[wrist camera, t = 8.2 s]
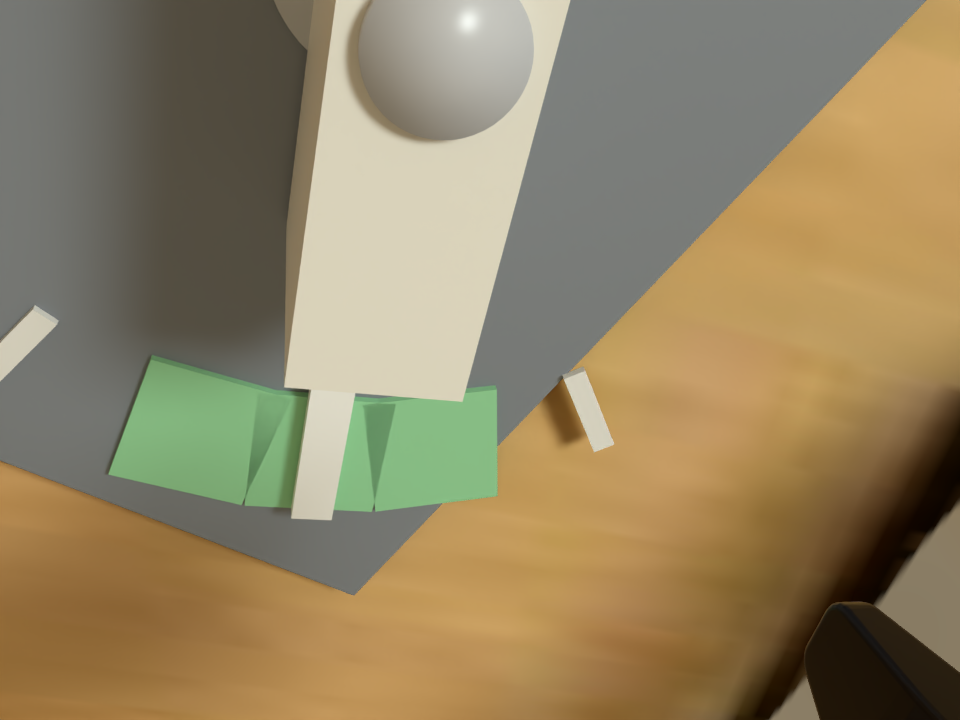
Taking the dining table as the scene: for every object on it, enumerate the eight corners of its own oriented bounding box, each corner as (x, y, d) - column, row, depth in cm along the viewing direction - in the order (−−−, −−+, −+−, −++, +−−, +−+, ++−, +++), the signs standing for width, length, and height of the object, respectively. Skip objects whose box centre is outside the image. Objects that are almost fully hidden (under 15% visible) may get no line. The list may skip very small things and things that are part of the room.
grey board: (1251, -214, 16) (1289, -211, 15) (421, 604, 25) (425, 627, 24) (404, -1902, 7) (413, -2047, 7) (-402, 281, 16) (-429, 304, 16)
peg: (566, -422, 12) (707, -485, 8) (367, 506, 21) (385, 701, 17) (372, -486, 11) (416, -590, 7) (252, 501, 21) (242, 702, 17)
